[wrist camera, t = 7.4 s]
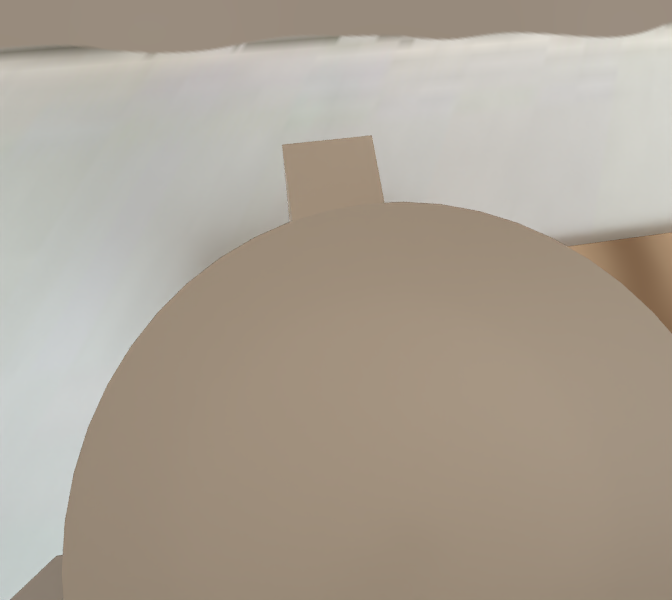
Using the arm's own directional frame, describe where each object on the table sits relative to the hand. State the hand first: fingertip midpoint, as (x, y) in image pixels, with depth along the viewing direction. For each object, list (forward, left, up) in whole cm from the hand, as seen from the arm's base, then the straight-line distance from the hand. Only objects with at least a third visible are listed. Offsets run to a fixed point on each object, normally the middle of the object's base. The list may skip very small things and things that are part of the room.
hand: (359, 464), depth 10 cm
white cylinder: (0, 0, -6) cm, 6 cm away
